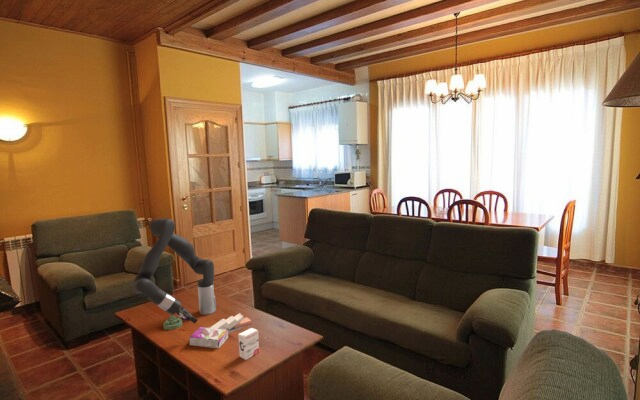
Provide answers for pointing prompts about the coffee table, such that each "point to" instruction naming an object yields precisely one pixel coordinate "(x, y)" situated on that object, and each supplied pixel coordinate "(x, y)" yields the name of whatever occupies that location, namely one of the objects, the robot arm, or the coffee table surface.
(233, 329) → the mat
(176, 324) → the decorative artifact
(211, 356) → the coffee table surface
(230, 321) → the domino
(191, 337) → the candy bar box
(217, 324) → the domino
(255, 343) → the ink box
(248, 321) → the domino
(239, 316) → the domino
